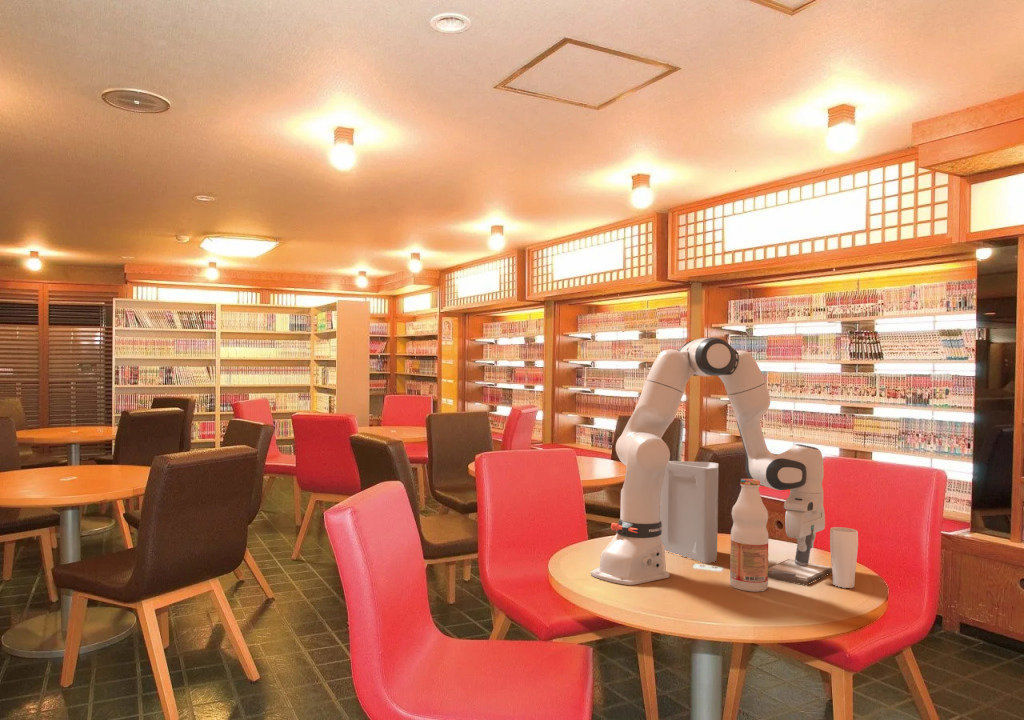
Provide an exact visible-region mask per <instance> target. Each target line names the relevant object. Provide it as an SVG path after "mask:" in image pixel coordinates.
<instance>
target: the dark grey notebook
mask: <svg viewBox="0 0 1024 720" xmlns="http://www.w3.org/2000/svg"><path fill="white" fill-rule="evenodd" d="M830 573H831V574H832V566H825V565H822V564H821V565H820V564H815V563H812V562H811V563H810V562H808V566H800V565H797V564H795V559H791V558H788V559H786V560H783V561H781V562H778V563H775V564H773V565H771V566H768V579H769V578H770V579H774V580H779V581H784V582H787V581H788V583H792V582H795V583H794V584H796V583H800V584H799V585H801V584H804V585H803V586H805V585H807V584H809V583H811V582H813V581H815V580H817V579H819V578H821V577H823V578H825V577H826V576H825V575H827V574H829V575H831V574H830ZM824 576H825V577H824ZM827 576H828V575H827ZM821 579H822V578H821ZM819 580H820V579H819ZM817 581H818V580H817ZM815 582H816V581H815ZM813 583H814V582H813ZM811 584H812V583H811ZM809 585H810V584H809ZM807 586H808V585H807Z"/></svg>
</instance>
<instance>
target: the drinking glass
mask: <svg viewBox="0 0 1024 720" xmlns="http://www.w3.org/2000/svg"><path fill="white" fill-rule="evenodd" d="M829 530H830V531H829V546H830V547H829V550H830V561H831V568H832V573H831V575H832V576H831V577H832V585H833V586H834V585H835V586H834V587H836V586H838V588H840V587H842V588H841V589H846V588H850V589H853V588H855V585H856V584H855V583H856V582H855V580H856V578H855V577H856V570H857V569H856V568H857V561H858V560H857V559H858V549H859V532H858V530H857V529H856V528H855V529H854V528H849V527H842V526H840V527H839V526H834V527H830V529H829Z"/></svg>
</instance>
